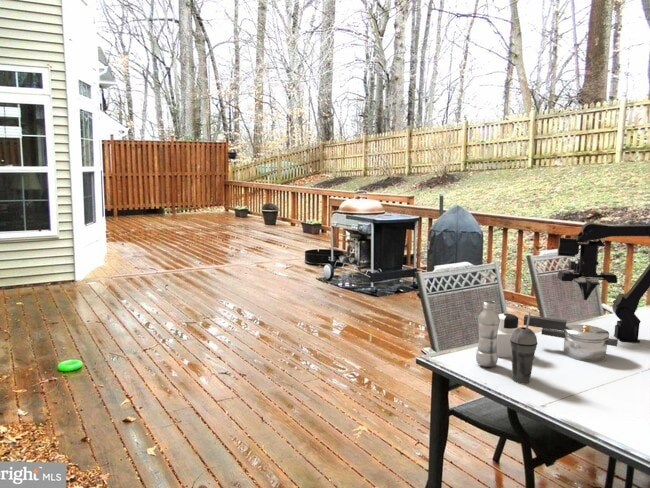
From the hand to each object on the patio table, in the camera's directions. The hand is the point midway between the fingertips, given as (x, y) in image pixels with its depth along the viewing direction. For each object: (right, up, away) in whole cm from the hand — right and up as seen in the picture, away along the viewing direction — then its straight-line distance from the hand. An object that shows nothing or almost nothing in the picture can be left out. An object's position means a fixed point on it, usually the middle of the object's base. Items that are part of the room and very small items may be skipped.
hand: (584, 300), depth 187 cm
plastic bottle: (-45, -17, -29) cm, 56 cm away
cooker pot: (-12, -16, -18) cm, 26 cm away
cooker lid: (-15, -8, -17) cm, 24 cm away
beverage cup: (-38, -19, -40) cm, 58 cm away
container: (-35, -16, -18) cm, 43 cm away
